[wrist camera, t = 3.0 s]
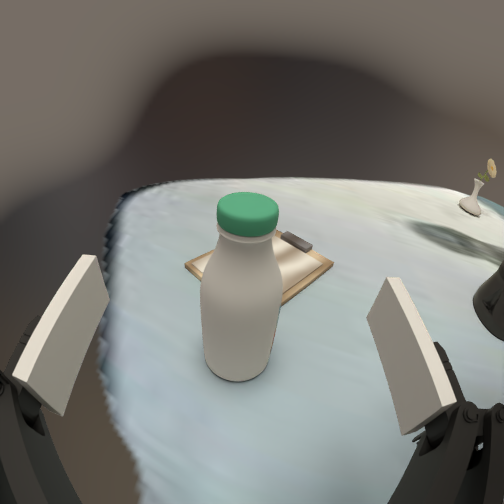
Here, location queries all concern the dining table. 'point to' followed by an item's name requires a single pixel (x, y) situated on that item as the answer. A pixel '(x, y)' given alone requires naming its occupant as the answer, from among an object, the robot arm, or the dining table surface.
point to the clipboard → (283, 263)
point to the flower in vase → (471, 202)
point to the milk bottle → (241, 288)
